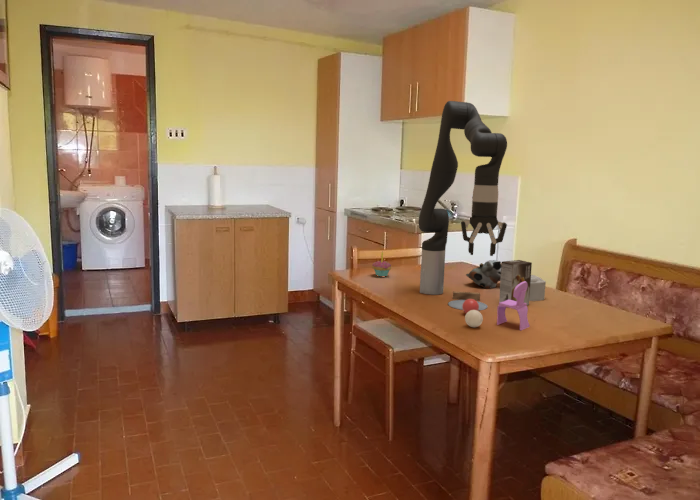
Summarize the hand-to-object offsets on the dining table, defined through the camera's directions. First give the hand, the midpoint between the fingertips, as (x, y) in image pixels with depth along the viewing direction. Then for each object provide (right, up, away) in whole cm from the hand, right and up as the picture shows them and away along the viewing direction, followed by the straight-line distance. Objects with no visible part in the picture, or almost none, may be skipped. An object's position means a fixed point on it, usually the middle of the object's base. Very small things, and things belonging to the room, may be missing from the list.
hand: (481, 254), depth 169 cm
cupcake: (-27, -10, +75) cm, 80 cm away
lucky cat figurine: (+17, -14, +63) cm, 66 cm away
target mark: (+2, -19, +30) cm, 36 cm away
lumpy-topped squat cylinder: (+27, -17, +44) cm, 55 cm away
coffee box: (+20, -19, +33) cm, 43 cm away
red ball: (+1, -18, +18) cm, 26 cm away
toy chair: (+12, -23, +8) cm, 27 cm away
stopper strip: (+4, -17, +39) cm, 43 cm away
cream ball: (-1, -20, +5) cm, 21 cm away
